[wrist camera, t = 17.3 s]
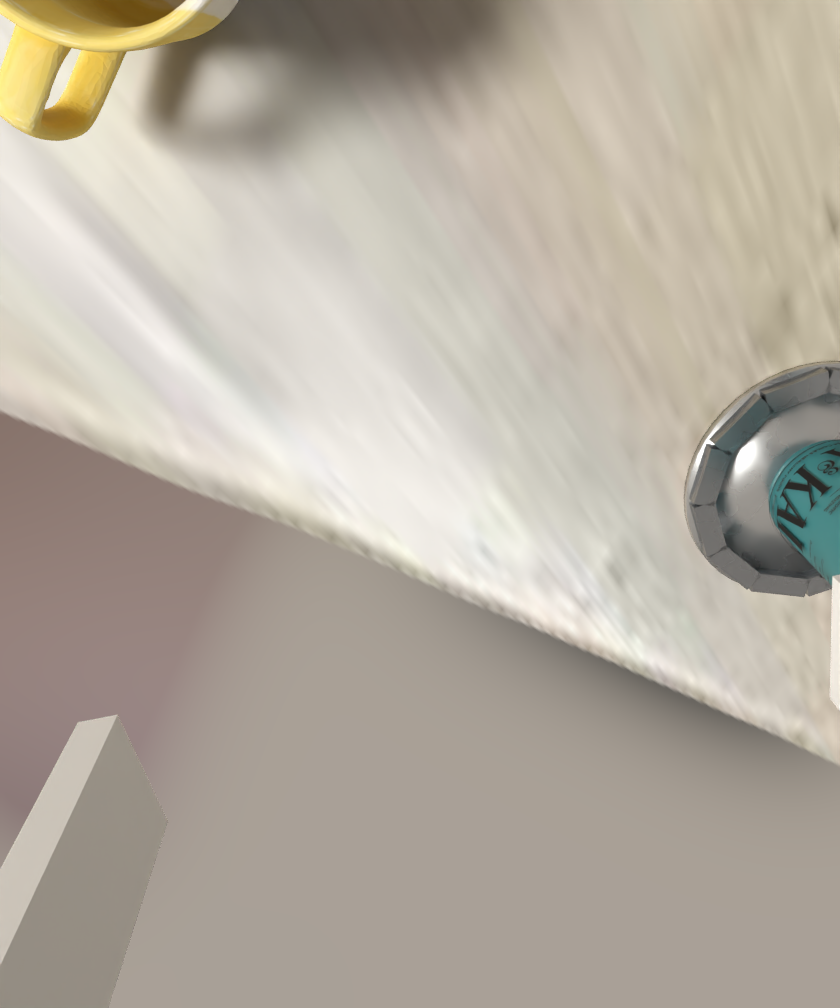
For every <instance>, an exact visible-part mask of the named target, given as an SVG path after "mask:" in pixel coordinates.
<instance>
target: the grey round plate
mask: <svg viewBox="0 0 840 1008" xmlns="http://www.w3.org/2000/svg"><path fill="white" fill-rule="evenodd" d="M824 440H840V361H829V362H817V363H811V364H806V365H801V366H798V367H794V368H791V369H788V370H785V371H782V372H780V373H778V374H776V375H773V376H771V377H769V378H767V379H765V380H763V381H762V382H760V383H758V384H756V385H755V386H753V387H751V388H750V389H749V390H747V391H746V392H745V393H743V394H742V395H740V396H739V397H738V398H737V399H735V400H734V401H733V402H732V403H731V404H730V405H729V406H728V407H727V408H726V409H725V410H724V411H723V412H722V413H721V414H720V415H719V416H718V417H717V419H716V420H715V421H714V422H713V423H712V425H711V426H710V427H709V429H708V430H707V432H706V433H705V435H704V436H703V438H702V439H701V441H700V443H699V445H698V447H697V449H696V451H695V453H694V455H693V458H692V461H691V463H690V466H689V469H688V473H687V478H686V482H685V491H684V510H685V516H686V521H687V525H688V528H689V531H690V534H691V536H692V538H693V540H694V542H695V544H696V545H697V547H698V549H699V550H700V551H701V553H702V554H703V555H704V557H705V558H706V559H707V560H708V562H709V563H710V564H711V565H712V566H714V567H715V568H716V569H717V570H718V571H719V572H720V573H722V574H723V575H725V576H727V577H728V578H730V579H731V580H733V581H736V582H738V583H739V584H741V585H742V586H743V587H744V588H746V589H748V588H749V589H750V590H751V591H754V592H763V593H772V594H781V595H790V596H799V597H804V596H805V594H807V595H808V596H812V595H814V594H817V593H820V592H823V591H826V590H829V589H832V588H831V587H832V586H831V585H830V584H829V582H828V581H827V580H826V579H824V580H823V579H822V578H821V577H819V576H820V575H821V574H820V573H819V572H818V571H817V570H816V569H815V568H814V567H813V566H812V565H811V564H810V562H809V561H808V560H807V559H806V558H805V557H804V556H803V555H802V554H801V553H800V552H799V551H798V550H796V549H795V547H794V546H793V545H791V542H790V541H789V540H788V539H787V538H786V537H785V536H784V535H783V534H782V533H780V531H779V530H778V528H777V527H776V525H775V524H774V522H773V520H772V517H771V513H770V514H769V502H768V499H769V491H770V487H771V484H772V481H773V479H774V477H775V475H776V473H777V472H778V470H779V469H780V467H781V466H782V465H783V464H784V463H785V462H786V460H787V459H789V458H790V457H791V456H792V455H793V454H795V453H796V452H797V451H799V450H801V449H802V448H804V447H806V446H808V445H811V444H813V443H816V442H820V441H824ZM770 517H771V518H770ZM771 521H772V522H771ZM773 526H774V527H773ZM776 529H777V530H776ZM776 531H777V532H776ZM778 532H779V533H778ZM779 534H780V535H781V534H782V536H783V537H784V538H783V537H782V536H780V535H779ZM785 541H787V542H785ZM791 546H793V547H794V548H793V547H792V548H793V549H792V548H791ZM795 550H796V551H797V552H796V551H795ZM798 552H799V553H800V554H801V555H802V556H801V555H800V554H799V553H798ZM798 555H799V556H800V557H801V558H800V557H799V556H798ZM802 559H803V560H804V561H803V560H802ZM805 561H806V562H807V563H808V564H809V565H810V566H811V567H812V568H811V567H810V566H809V565H808V564H807V563H806V562H805ZM813 568H814V569H813ZM814 570H815V571H814ZM813 571H814V572H813ZM818 574H820V575H819V576H818ZM821 576H822V575H821ZM822 577H823V576H822ZM823 578H824V577H823ZM821 579H822V580H821ZM825 580H826V581H825ZM824 581H825V582H824ZM825 583H826V584H828V585H829V586H828V585H826V584H825Z"/></svg>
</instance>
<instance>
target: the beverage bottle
mask: <svg viewBox="0 0 840 1008" xmlns="http://www.w3.org/2000/svg"><path fill="white" fill-rule="evenodd" d="M768 502H769V514H770V513H771V517H772V520H773V522H774V524H775V525H776V527H777V528H778V530H779V531H780V533H782V534H783V535H784V536H785V537H786V538H787V539H788V540H789V541H790V542H791V545H793V546H794V547H795V549H796V550H798V551H799V552H800V553H801V554H802V555H803V556H804V557H805V558H806V559H807V560H808V561H809V562H810V564H811V565H812V566H813V567H814V568H815V569H816V570H817V571H818V572H819V573H820V574H821V575H822V576H823V577H824V578H823V577H822V576H821V575H820V574H818V576H819V575H820V576H819V577H821V578H822V579H823V580H824V579H826V580H827V581H828V582H829V584H830V585H831V586H832V576H835V575H840V440H824V441H820V442H816V443H813V444H811V445H808V446H806V447H804V448H802V449H801V450H799V451H797V452H796V453H795V454H793V455H792V456H791V457H790V458H789V459H787V460H786V462H785V463H784V464H783V465H782V466H781V467H780V469H779V470H778V472H777V473H776V475H775V477H774V479H773V481H772V484H771V487H770V491H769V499H768ZM771 517H770V518H771ZM771 522H772V521H771ZM773 527H774V526H773ZM776 530H777V529H776ZM776 532H777V531H776ZM778 533H779V532H778ZM782 534H781V535H780V534H779V535H780V536H782ZM782 537H783V536H782ZM783 538H784V537H783ZM785 542H787V541H785ZM793 546H791V548H792V547H793ZM794 547H793V548H794ZM793 548H792V549H793ZM796 550H795V551H796ZM796 552H797V551H796ZM799 552H798V553H799ZM800 553H799V554H800ZM801 554H800V555H801ZM802 555H801V556H802ZM798 556H799V555H798ZM799 557H800V556H799ZM800 558H801V557H800ZM802 560H803V559H802ZM803 561H804V560H803ZM805 562H806V561H805ZM806 563H807V562H806ZM807 564H808V563H807ZM808 565H809V564H808ZM809 566H810V565H809ZM810 567H811V566H810ZM811 568H812V567H811ZM814 568H813V569H814ZM814 571H815V570H814ZM814 571H813V572H814ZM822 579H821V580H822ZM826 580H825V581H826ZM825 581H824V582H825ZM825 584H826V583H825ZM826 585H828V584H826ZM828 586H829V585H828ZM831 588H832V587H831ZM831 591H832V590H831Z"/></svg>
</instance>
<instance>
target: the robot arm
mask: <svg viewBox="0 0 840 1008" xmlns="http://www.w3.org/2000/svg"><path fill="white" fill-rule="evenodd" d="M830 699H831V700H832V702H833V703H834V704H835V705H836V707H837V708H838V709H839V711H840V575H835V576H832V619H831V667H830ZM167 823H168V820H167V818H166V816H165V814H164V812H163V810H162V808H161V806H160V803H159V801H158V799H157V797H156V795H155V793H154V791H153V789H152V786H151V784H150V782H149V780H148V778H147V776H146V774H145V772H144V770H143V767H142V765H141V763H140V761H139V759H138V757H137V755H136V753H135V750H134V748H133V746H132V744H131V742H130V740H129V738H128V736H127V734H126V732H125V729H124V727H123V725H122V723H121V721H120V719H119V717H118V715H114V716H109V717H103V718H98V719H93V720H88V721H83V722H78V723H77V725H76V727H75V729H74V731H73V733H72V735H71V737H70V739H69V740H68V742H67V744H66V746H65V748H64V750H63V752H62V754H61V755H60V757H59V759H58V761H57V763H56V765H55V767H54V769H53V771H52V772H51V774H50V776H49V778H48V780H47V782H46V784H45V786H44V788H43V789H42V791H41V793H40V795H39V797H38V799H37V801H36V803H35V805H34V807H33V809H32V810H31V812H30V814H29V816H28V818H27V820H26V822H25V824H24V825H23V827H22V829H21V831H20V833H19V835H18V837H17V839H16V840H15V842H14V844H13V846H12V848H11V850H10V852H9V854H8V855H7V857H6V859H5V861H4V863H3V865H2V867H1V869H0V1008H108V1007H109V1004H110V1001H111V998H112V994H113V991H114V988H115V985H116V982H117V979H118V976H119V973H120V970H121V966H122V963H123V960H124V957H125V954H126V951H127V948H128V945H129V942H130V938H131V935H132V932H133V929H134V926H135V923H136V920H137V917H138V913H139V910H140V907H141V904H142V901H143V898H144V895H145V892H146V889H147V885H148V882H149V879H150V876H151V873H152V870H153V867H154V864H155V860H156V857H157V854H158V851H159V848H160V845H161V842H162V838H163V835H164V833H165V829H166V826H167Z"/></svg>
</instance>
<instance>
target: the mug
mask: <svg viewBox="0 0 840 1008" xmlns="http://www.w3.org/2000/svg"><path fill="white" fill-rule="evenodd" d="M238 1H239V0H0V14H1V15H3V16H4V17H6V18H7V19H9V20H10V21H12V22H13V23H14V24H16V26H15V29H14V32H13V35H12V38H11V41H10V44H9V46H8V49H7V52H6V55H5V58H4V61H3V64H2V67H1V69H0V116H1V117H2V118H3V119H4V120H5V121H7V122H8V123H9V124H11V125H12V126H13V127H15V128H17V129H19V130H20V131H22V132H24V133H26V134H28V135H30V136H33V137H36V138H40V139H44V140H54V141H60V140H68V139H72V138H76V137H78V136H80V135H82V134H84V133H85V132H87V131H88V130H89V129H90V128H91V126H92V125H93V123H94V122H95V120H96V118H97V116H98V114H99V112H100V110H101V108H102V106H103V104H104V102H105V99H106V97H107V95H108V93H109V90H110V88H111V86H112V83H113V81H114V79H115V77H116V74H117V72H118V70H119V67H120V65H121V63H122V60H123V58H124V56H125V54H126V52H127V51H135V50H143V49H148V48H153V47H157V46H160V45H164V44H168V43H172V42H178V41H183V40H187V39H191V38H194V37H197V36H200V35H202V34H204V33H206V32H208V31H209V30H211V29H212V28H214V27H215V26H216V25H218V24H219V23H220V22H221V21H223V20H224V19H225V18H226V17H227V16H228V15H229V14H230V12H231V11H232V10H233V9H234V7H235V6H236V4H237V2H238ZM71 48H74V49H79V50H81V53H80V54H79V57H78V59H77V62H76V65H75V67H74V69H73V71H72V74H71V76H70V79H69V81H68V84H67V86H66V88H65V90H64V92H63V94H62V96H61V97H60V99H59V101H58V102H57V103H56V104H55V105H54V106H53V107H51V108H48V109H45V110H44V108H45V104H46V102H47V100H48V98H49V95H50V91H51V88H52V85H53V83H54V80H55V78H56V75H57V73H58V70H59V68H60V66H61V64H62V63H63V61H64V59H65V57H66V56H67V54H68V53H69V51H70V50H71Z"/></svg>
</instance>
